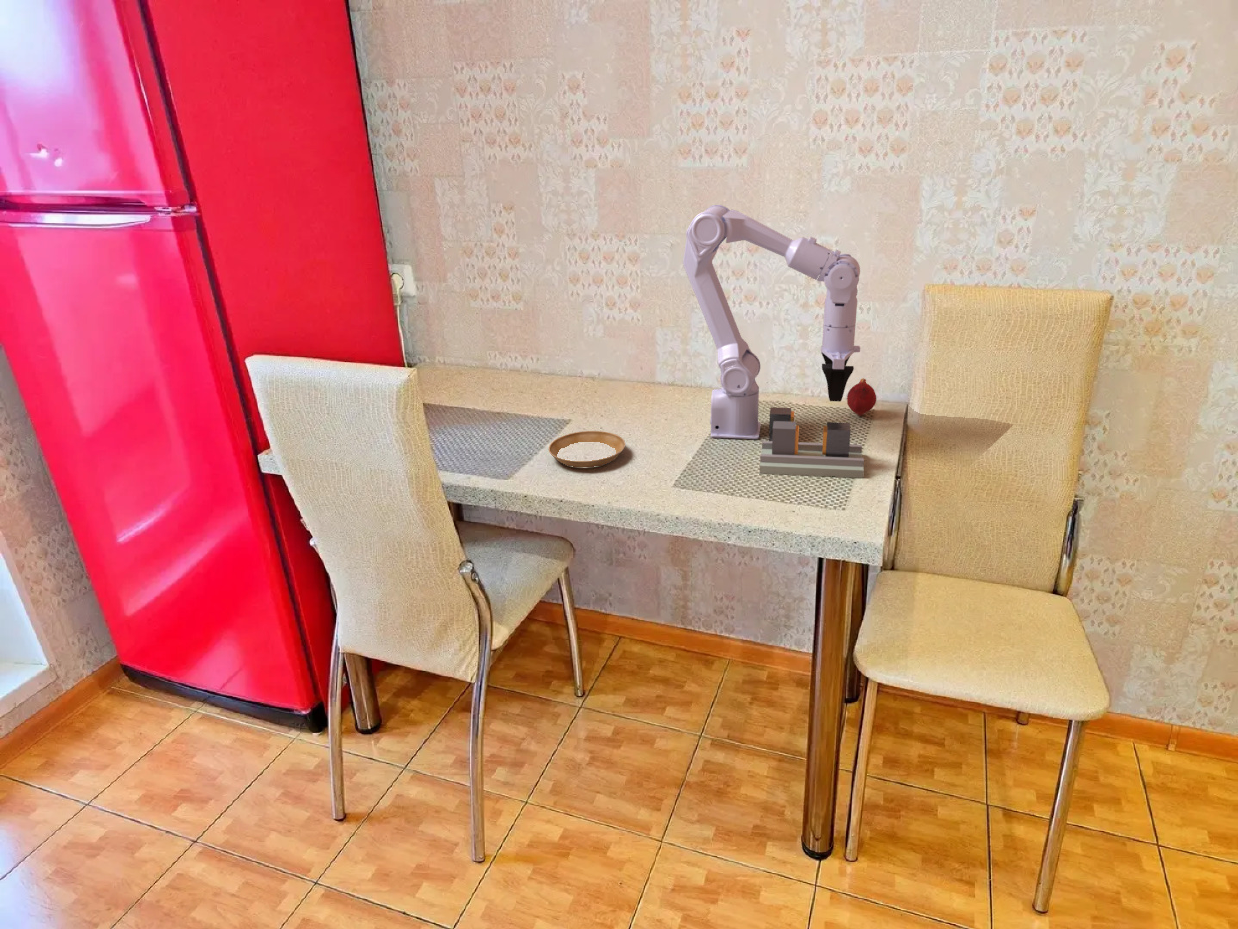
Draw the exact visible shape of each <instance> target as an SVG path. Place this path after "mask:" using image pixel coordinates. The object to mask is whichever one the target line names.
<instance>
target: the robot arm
mask: <svg viewBox="0 0 1238 929" xmlns="http://www.w3.org/2000/svg"><path fill="white" fill-rule="evenodd" d="M685 235H686V239H685V247H684V254H683V260H682V264H683V267H684V271H685V273H686V275H687V278H688V280H689V283H690V286H691V288H692V290H693V292H694V295H695V297H696V301H697V303H698V305H699V308H700V310H701V314H702V315H703V318H704V320H705V323H706V324H707V327H708V330H709V332H710V335H711V338H712V339H713V343H714V344H715V347H716V350H717V365H718V367H719V369H720V370H719V371H720V384H721V388H715V389H712V391H711V396H710V403H711V404H710V420H709V421H710V422H709V423H710V437H711V438H714V439H715V438H717V439H719V438H720V439H739V440H740V439H743V440H745V439H747V440H758V439H759V438H760V432H761V426H762V423H761V422H759V404H760V403H759V401H760V399H759V397H760V386H759V385H758V383H757V381H756V378H757V377H758V375H759V374H760V372H761V361H760V359H759V357H758V356H757V355H756V354H755V353H753V351H752V350H751V348H750V346H749V344H748V343H747V341H746V340H744V339H743V337H742V336H741V332H740V331H739V328H738V325H737V322H736V320H735V318H734V316H733V313H732V310H731V308H730V305H729V303H728V300H727V298H726V295H725V292H724V289H723V287H722V285H721V282H720V280H719V277H718V274H717V272H716V270H715V267H714V264H713V260H714V258H715V256H716V254H717V252H718V250H719V247H720V245H721V244H722V242H724V241H725V243H726V244H730V243H735V242H741V241H742V242H743V241H745V242H749V243H751V244H753V245H755V246H757V247H760V248H763V249H764V250H767V251H769V252H772V253H775V254H777V255H779V256H782V257H783V258H784V260H785V261H786V264H787V266H788V267H789V268H790V269H792V270H794V271H797V272H799V273H800V274H803V275H805V276H807V277H808V278H811V279H814V280H815V281H817V282H824V285H825V287H826V297H825V299H824V308H823V309H824V310H823V326H822V328H823V329H822V342H821V344H822V345H820V346H821V347H820V353H821V355H822V359H823V361H824V363H821V369H822V372H823V374H824V377H825V380H826V385H827V394H828V395H827V396H828V400H829V401H830V402H841V401H842V400H843V396H844V392H845V390H846V386H847V382H848V380H849V378H850V377H851V376H852V373H853V372H854V370H855V367H854V365H847V363H848V361H849V359H850V358H851V356H852V355H853V354H855V353H860V352H861V346H860V345H855V335H856V322H857V309H858V299H857V295H858V283H859V281H860V274H861V267H860V264H859V262H858V261H857V259H856V258H855V257H853V256H851V254H849V253H841V251H840V250H839V249H835V251H834V250H832V249H830V248H829V247H828V248H827V247H825V246H824V245H821V244H819V243H817V238H815V237H813V236H810V237H809V238H806V237H805V236H802V237H799V238H797V239H791V238H790V237H788V236H786V235H784V234H782V233H780V232H778V231H776V230H775V229H773V228H771V227H769V226H767V225H765V224H764V223H762V222H760V221H758V220H755V219H754V218H752V217H750V216H748V215H746V214H744V213H743V212H740V211H738V210H735V209H729V208H728V207H726V206H724V205H722V204H713V205H710V206H709V207H707V208H706V209H705V210H704V211H702V212H700V213H698V214H697V215H696V216H695V217H693V219H692V221H691V222H690V224H689V226H688V228H687V230H686V232H685Z"/></svg>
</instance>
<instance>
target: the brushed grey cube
mask: <svg viewBox="0 0 1238 929" xmlns="http://www.w3.org/2000/svg"><path fill="white" fill-rule="evenodd" d="M851 431H852V430H851V422H832V421H830V422H828V421H827V422H826V425H823V429H822V442H821V443H822V455H825V457H845V458H849V447H850V444H851Z"/></svg>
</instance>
